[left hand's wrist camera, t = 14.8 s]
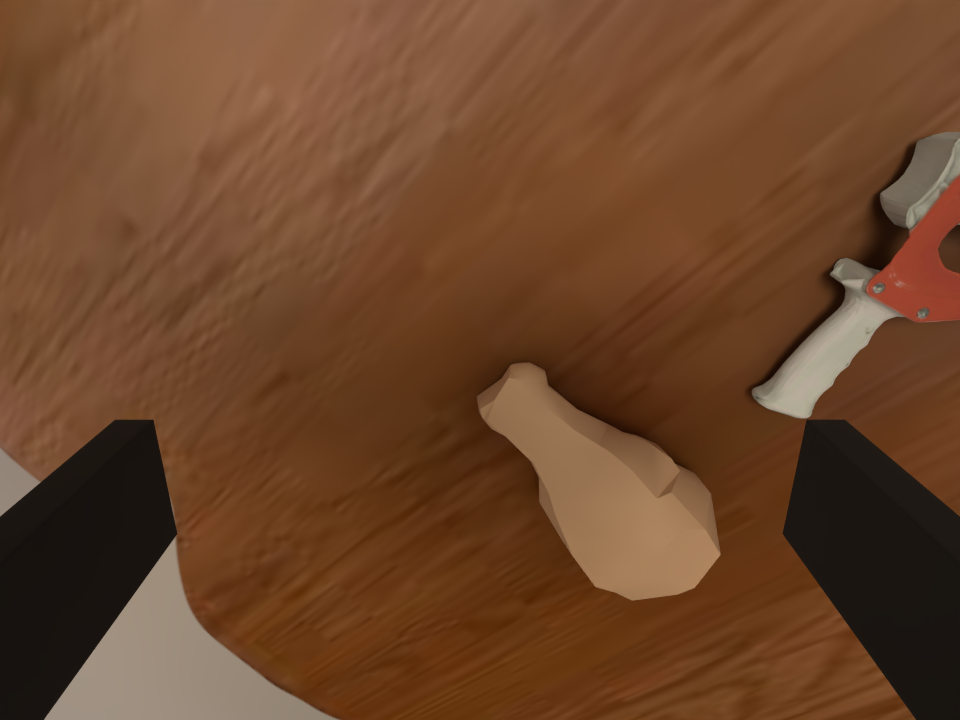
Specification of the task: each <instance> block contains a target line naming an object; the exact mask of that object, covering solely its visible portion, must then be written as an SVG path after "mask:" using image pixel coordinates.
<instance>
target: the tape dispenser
mask: <svg viewBox="0 0 960 720" xmlns="http://www.w3.org/2000/svg"><path fill="white" fill-rule="evenodd" d="M880 202H881V205H882V208H883V210H884V212H885V213H886V215H887V216H888V218H889V219H890V220H891V221H892V222H893V223H894V224H895V225H898V226H900V227H903V228H907V229H909V232H908V237H907V239H906V242H905V243H904V245H903V246H902V248H901V249H900V250H899V251H898V253H897V254H896V255H895V256H894V258H893V259H892V261H891V262H890V263H889V264H888V265H886V267H885V268H884V269H883V270H881V271H880V270H876V269H872V268H868V267H866V266H864V265H862V264H860V263H858V262H856V261H854V260H851V259H848V258H844V259H840V260H839V261H837V262H836V264H835V266H834V269H833V271H832V272H831V273H830V276H832V277H833V278H835V279H836V280H837V281H839V282H840V283H842V284H843V285H844V287H845V289H846V292H845V299H844V301H843V303H842V305H841V306H840V307H839V309H838V310H837V311H835V312H834V313H833V314H832V315H831V316H830V317H829V318H828V319H827V320H826V321H824V322H823V323H822V324H821V325H820V326H819V327H818V328H817V329H816V330H815V331H814V332H813V333H812V334H811V335H810V336H809V337H808V338H807V339H806V340H805V341H804V342H803V343H802V344H801V345H800V346H799V347H798V348H797V349H796V350H795V351H794V352H793V353H792V354H791V355H790V357H789V358H788V359H787V360H786V361H785V362H784V363H783V365H782V366H781V367H780V368H779V370H778V371H777V372H776V373H775V374H774V376H773V377H772V378H771V379H770V380H769V381H767V382H766V383H764V384H763V385H760V386H758V387H755V388H754V389H753V390H752V396H753V398H754V399H755V400H756V401H757V402H758V403H759V404H761V405H762V406H764V407H766V408H768V409H770V410H773V411H776V412H780V413H783V414H787V415H790V416H792V417H796V418H808V417H810V416H811V414H812V410H813V407H814V405H815V403H816V401H817V400H818V398H819V397H820V396H821V394H822V393H823V392H824V391H826V390H827V389H828V388H829V387H831V386H832V385H833V383H834V380H835V378H836V377H837V376H838V374H839V373H840V372H841V371H842V370H844V369H845V368H846V367H848V366H849V364H850V362H851V360H852V358H853V357H854V356H855V355H856V354H857V353H858V352H859V350H861V349H862V348H864V347H865V346H866V345H867V344H868V342H869V340H870V338H871V336H872V335H873V333H874V332H875V330H876V329H877V328H878V327H879V326H880V325H881V324H882V323H883V322H884V321H886V320H887V319H890V318H893V317H906V318H908V319H910V320H912V321H914V322H917V323H921V322H937V321H953V320H960V274H959V273H956V272H952V271H950V270H948V269H946V268H945V267H944V265H943V264H942V262H941V259H940V257H939V253H938V248H939V245H940V243H941V241H942V240H943V239H944V238H945V236H946V235H947V234H948V232H949V231H950V230H951V229H953V228H954V227H955V226H956V225H960V132H945V133H940V134H935V135H932V136H930V137H927V138H924V139H921V140H918V142H917V144H916V148H915V152H914V156H913V158H912V161H911V163H910V165H909V167H908V168H907V170H906V171H905V173H904V174H903V175H902V176H901V178H900V179H899V180H898V181H896V182H895V183H894V184H893V185H891V186H890V187H888V188H887V189H886V190H884V191H883V192H881V194H880Z"/></svg>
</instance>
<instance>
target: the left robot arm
mask: <svg viewBox="0 0 960 720" xmlns="http://www.w3.org/2000/svg"><path fill="white" fill-rule="evenodd" d="M176 535H177V530H176V526H175V521H174V516H173V511H172V507H171V502H170V497H169V492H168V488H167V483H166V478H165V473H164V469H163V464H162V459H161V454H160V449H159V445H158V440H157V435H156V430H155V426H154V421H153V420H114V421H113V422H112V423H111V424H110V425H108V426H107V427H106V428H105V429H104V430H102V431H101V432H100V433H99V434H98V435H97V436H95V437H94V438H93V439H92V440H91V441H89V442H88V443H87V444H86V445H85V446H83V447H82V448H81V449H80V450H79V451H78V452H76V453H75V454H74V455H73V456H72V457H70V458H69V459H68V460H67V461H66V462H64V463H63V464H62V465H61V466H60V467H59V468H57V469H56V470H55V471H54V472H53V473H51V474H50V475H49V476H48V477H47V478H46V479H44V480H43V481H42V482H41V483H40V484H38V485H37V486H36V487H35V488H34V489H33V490H31V491H30V492H29V493H28V494H27V495H25V496H24V497H23V498H22V499H21V500H19V501H18V502H17V503H16V504H15V505H13V506H12V507H11V508H10V509H9V510H8V511H6V512H5V513H4V514H3V515H2V516H0V720H44V719H45V717H46V716H47V714H48V713H49V712H50V710H51V709H52V707H53V706H54V705H55V703H56V702H57V701H58V699H59V698H60V696H61V695H62V694H63V692H64V691H65V689H66V688H67V687H68V685H69V684H70V682H71V681H72V680H73V678H74V677H75V675H76V674H77V673H78V671H79V670H80V669H81V667H82V666H83V664H84V663H85V661H86V660H87V659H88V657H89V656H90V655H91V653H92V652H93V650H94V649H95V648H96V646H97V645H98V643H99V642H100V641H101V639H102V638H103V636H104V635H105V634H106V632H107V631H108V630H109V628H110V627H111V625H112V624H113V623H114V621H115V620H116V618H117V617H118V616H119V614H120V613H121V611H122V610H123V609H124V607H125V606H126V605H127V603H128V602H129V600H130V599H131V598H132V596H133V595H134V593H135V592H136V591H137V589H138V588H139V586H140V585H141V584H142V582H143V581H144V579H145V578H146V577H147V575H148V574H149V572H150V571H151V570H152V568H153V567H154V566H155V564H156V563H157V561H158V560H159V559H160V557H161V556H162V554H163V553H164V552H165V550H166V549H167V547H168V546H169V545H170V543H171V542H172V540H173V539H174V538H175V536H176ZM783 535H784V536H785V538H786V539H787V540H788V542H789V543H790V545H791V546H792V547H793V549H794V550H795V552H796V553H797V554H798V556H799V557H800V559H801V560H802V561H803V563H804V564H805V566H806V567H807V568H808V570H809V571H810V573H811V574H812V575H813V577H814V578H815V579H816V581H817V582H818V584H819V585H820V586H821V588H822V589H823V591H824V592H825V593H826V595H827V596H828V598H829V599H830V600H831V602H832V603H833V605H834V606H835V607H836V609H837V610H838V611H839V613H840V614H841V616H842V617H843V618H844V620H845V621H846V623H847V624H848V625H849V627H850V628H851V630H852V631H853V632H854V634H855V635H856V637H857V638H858V639H859V641H860V642H861V643H862V645H863V646H864V648H865V649H866V650H867V652H868V653H869V655H870V656H871V657H872V659H873V660H874V662H875V663H876V664H877V666H878V667H879V669H880V670H881V671H882V673H883V674H884V676H885V677H886V678H887V680H888V681H889V682H890V684H891V685H892V687H893V688H894V689H895V691H896V692H897V694H898V695H899V696H900V698H901V699H902V701H903V702H904V703H905V705H906V706H907V708H908V709H909V710H910V712H911V713H912V714H913V716H914V717H915V719H916V720H960V516H958V515H957V514H956V513H955V512H954V511H952V510H951V509H950V508H949V507H948V506H947V505H945V504H944V503H943V502H942V501H941V500H939V499H938V498H937V497H936V496H935V495H933V494H932V493H931V492H930V491H929V490H928V489H926V488H925V487H924V486H923V485H922V484H920V483H919V482H918V481H917V480H916V479H914V478H913V477H912V476H911V475H910V474H909V473H907V472H906V471H905V470H904V469H903V468H901V467H900V466H899V465H898V464H897V463H895V462H894V461H893V460H892V459H891V458H890V457H888V456H887V455H886V454H885V453H884V452H882V451H881V450H880V449H879V448H878V447H877V446H875V445H874V444H873V443H872V442H871V441H869V440H868V439H867V438H866V437H865V436H863V435H862V434H861V433H860V432H859V431H858V430H856V429H855V428H854V427H853V426H852V425H850V424H849V423H848V422H847V421H846V420H807V421H806V426H805V430H804V435H803V440H802V445H801V449H800V454H799V459H798V464H797V468H796V473H795V478H794V483H793V488H792V492H791V497H790V502H789V507H788V511H787V516H786V521H785V526H784V530H783Z"/></svg>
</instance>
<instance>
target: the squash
mask: <svg viewBox="0 0 960 720" xmlns="http://www.w3.org/2000/svg"><path fill="white" fill-rule="evenodd" d="M477 402H478V409H479V413H480V415H481V416H482V418H483V419H484V421H485V422H486V423H487V424H488V425H489V427H490V428H491V429H492V430H494V431H496V432H498V433H500V434H502V435H504V436H506V437H507V438H508V439H509V440H510V441H511V442H512V443H513V444H514V445H515V446H516V447H517V448H518V449H519V450H520V451H521V452H522V453H523V454H524V455H525V456H526V457H527V458H528V459H529V460H530V461H531V463H532V465H533V467H534V469H535V471H536V473H537V475H538V477H539V502H540V504H541V506H542V507H543V509H544V511H545V512H546V514H547V516H548V517H549V519H550V521H551V522H552V524H553V526H554V528H555V529H556V531H557V533H558V534H559V536H560V538H561V539H562V541H563V542H564V544H565V545H566V547H567V548H568V550H569V551H570V553H571V554H572V556H573V557H574V558H575V560H576V561H577V562H578V564H579V565H580V567H581V568H582V569H583V571H584V572H585V573H586V575H587V576H588V577H589V579H590V580H591V581H592V583H593V584H594V585H595V587H598V588H601V589H605V590H608V591H612V592H615V593H618V594H620V595H622V596H624V597H626V598H628V599H630V600H640V599H647V598H654V597H662V596H669V595H676V594H680V593H682V592H685V591H688V590H690V589H693V588H695V587H696V585H697V584H698V583H699V581H700V580H701V579H702V578H703V576H704V575H705V574H706V573H707V571H708V570H709V569H710V567H711V566H712V565H713V564H714V562H715V561H716V560H717V559H718V557H719V556H720V548H719V542H718V536H717V529H716V523H715V517H714V511H713V504H712V498H711V493H710V492H709V491H708V490H707V488H706V487H705V486H704V485H703V483H702V482H701V481H700V480H699V478H698V477H697V476H696V474H695V473H693V472H691V471H689V470H687V469H685V468H683V467H681V466H679V465H677V464H675V463H674V462H673V460H672V459H671V458H670V457H669V456H668V455H667V454H666V453H665V452H664V451H663V450H662V449H661V448H660V447H659V446H658V445H657V444H656V443H653V442H651V441H649V440H646V439H644V438H642V437H639V436H637V435H633V434H629V433H625V432H622V431H620V430H618V429H616V428H614V427H613V426H611V425H609V424H607V423H605V422H602V421H600V420H598V419H596V418H594V417H592V416H590V415H588V414H586V413H584V412H582V411H580V410H578V409H576V408H575V407H574V406H573V405H572V404H570V403H569V402H568V401H567V400H566V399H564V398H563V397H562V396H561V395H560V394H558V393H557V392H556V391H555V390H554V389H552V388H551V387H550V386H549V385H548V382H547V377H546V373H545V370H544V369H542V368H540V367H538V366H536V365H534V364H532V363H530V362H523V363H516V364H511V365H510V366H509V368H508V369H507V371H506V373H505V374H504V376H503V377H502V378H501V379H500V380H499V381H497V382H496V383H495V384H493V385H492V386H490V387H489V388H488V389H486V390H485V391H484V392H482V393H481V394H479V395H478V396H477Z"/></svg>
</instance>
